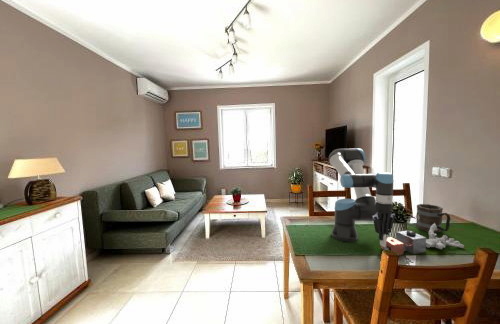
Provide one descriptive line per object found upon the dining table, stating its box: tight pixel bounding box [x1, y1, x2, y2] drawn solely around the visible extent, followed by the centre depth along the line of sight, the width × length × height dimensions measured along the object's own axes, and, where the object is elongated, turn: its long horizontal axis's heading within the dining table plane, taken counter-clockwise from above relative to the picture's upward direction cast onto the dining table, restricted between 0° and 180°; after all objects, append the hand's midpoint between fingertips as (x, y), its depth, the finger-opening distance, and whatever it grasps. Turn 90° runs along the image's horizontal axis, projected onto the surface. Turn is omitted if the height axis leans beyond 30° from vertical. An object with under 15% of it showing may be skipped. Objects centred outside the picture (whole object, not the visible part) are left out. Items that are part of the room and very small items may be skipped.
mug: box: [415, 203, 451, 233], centre depth 143 cm, size 20×14×15 cm
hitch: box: [383, 230, 427, 255], centre depth 118 cm, size 20×10×10 cm, turn 102°
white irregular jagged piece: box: [426, 223, 465, 250], centre depth 124 cm, size 19×8×20 cm
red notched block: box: [380, 236, 404, 256], centre depth 117 cm, size 6×8×6 cm
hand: (382, 245), depth 116 cm, fingers closed
